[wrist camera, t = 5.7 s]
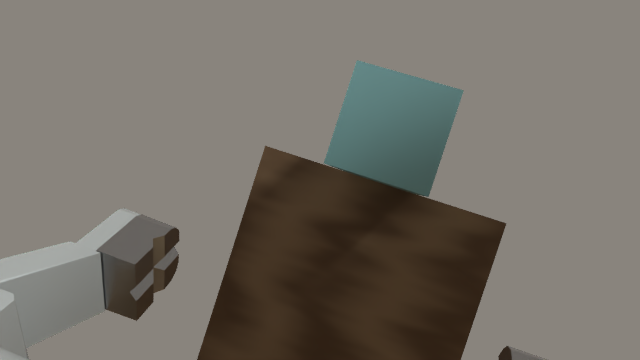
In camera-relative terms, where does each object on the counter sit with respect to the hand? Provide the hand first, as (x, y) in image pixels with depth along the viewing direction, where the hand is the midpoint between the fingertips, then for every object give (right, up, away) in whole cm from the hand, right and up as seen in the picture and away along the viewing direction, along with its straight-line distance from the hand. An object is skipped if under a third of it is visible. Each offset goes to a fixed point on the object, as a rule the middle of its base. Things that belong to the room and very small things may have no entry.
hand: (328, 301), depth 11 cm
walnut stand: (-4, -22, +20) cm, 30 cm away
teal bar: (+4, +3, +18) cm, 18 cm away
